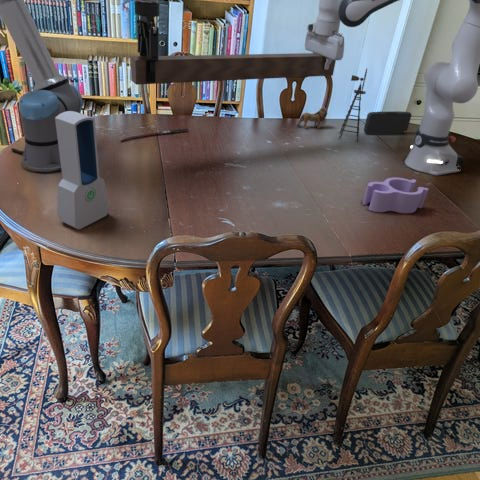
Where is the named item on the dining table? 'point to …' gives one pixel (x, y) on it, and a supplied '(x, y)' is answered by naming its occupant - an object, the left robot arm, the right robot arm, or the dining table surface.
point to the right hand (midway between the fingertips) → (320, 67)
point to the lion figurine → (313, 117)
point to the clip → (394, 196)
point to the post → (230, 67)
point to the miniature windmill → (354, 78)
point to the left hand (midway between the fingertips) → (147, 79)
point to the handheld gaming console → (387, 122)
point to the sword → (154, 134)
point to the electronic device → (79, 171)
